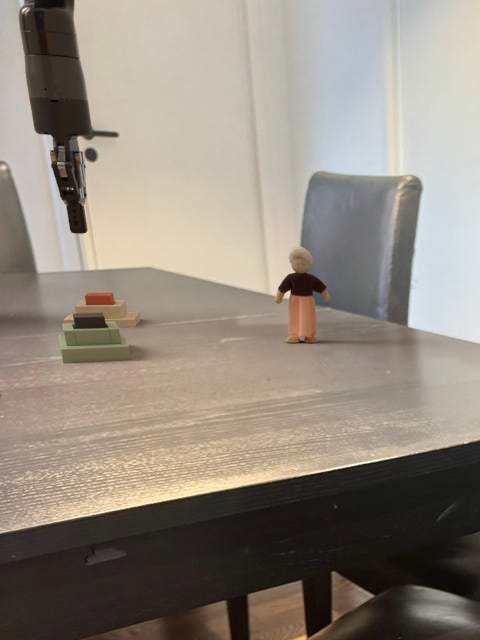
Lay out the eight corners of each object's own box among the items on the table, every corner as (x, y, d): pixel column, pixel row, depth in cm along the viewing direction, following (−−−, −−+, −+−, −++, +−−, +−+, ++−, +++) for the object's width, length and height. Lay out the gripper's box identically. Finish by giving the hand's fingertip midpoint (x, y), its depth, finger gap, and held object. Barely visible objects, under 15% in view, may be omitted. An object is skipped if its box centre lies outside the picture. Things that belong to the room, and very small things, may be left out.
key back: (86, 307, 137) (84, 295, 136) (90, 304, 140) (88, 292, 140) (111, 307, 138) (109, 295, 137) (114, 304, 141) (113, 292, 140)
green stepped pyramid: (59, 348, 122) (55, 320, 120) (123, 345, 125) (119, 318, 123) (63, 363, 113) (58, 333, 111) (131, 359, 116) (127, 331, 114)
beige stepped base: (64, 328, 136) (60, 306, 135) (73, 320, 143) (70, 299, 141) (134, 327, 138) (131, 306, 136) (140, 319, 145) (137, 299, 143)
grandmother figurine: (282, 344, 128) (275, 247, 122) (276, 340, 131) (269, 244, 125) (335, 342, 131) (331, 246, 125) (328, 338, 134) (323, 244, 128)
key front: (74, 327, 118) (72, 313, 117) (104, 326, 119) (102, 312, 119) (76, 332, 115) (74, 317, 114) (106, 330, 116) (104, 316, 116)
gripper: (38, 97, 131) (60, 229, 139) (18, 91, 119) (43, 235, 127) (94, 100, 132) (112, 230, 140) (79, 95, 121) (99, 237, 129)
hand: (79, 233), depth 134 cm, fingers closed
